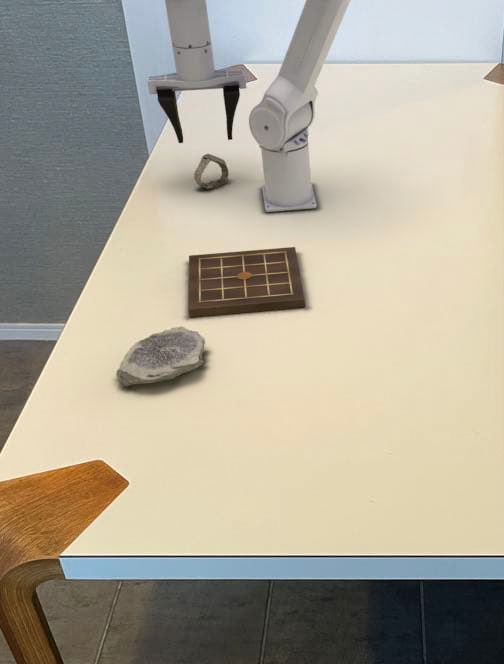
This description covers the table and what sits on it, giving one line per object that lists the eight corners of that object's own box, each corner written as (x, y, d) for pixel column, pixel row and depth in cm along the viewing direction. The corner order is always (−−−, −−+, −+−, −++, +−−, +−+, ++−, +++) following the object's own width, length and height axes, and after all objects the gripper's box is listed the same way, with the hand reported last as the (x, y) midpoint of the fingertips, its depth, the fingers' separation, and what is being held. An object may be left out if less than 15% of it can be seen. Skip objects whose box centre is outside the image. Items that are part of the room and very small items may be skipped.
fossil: (157, 315, 106) (219, 319, 101) (171, 343, 108) (232, 348, 103) (98, 369, 99) (161, 376, 94) (114, 397, 102) (176, 406, 97)
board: (190, 263, 121) (188, 254, 120) (295, 254, 123) (295, 245, 122) (189, 317, 111) (188, 308, 110) (305, 307, 112) (304, 298, 111)
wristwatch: (233, 182, 141) (229, 151, 138) (205, 194, 138) (200, 163, 134) (219, 177, 143) (215, 146, 139) (191, 189, 139) (185, 157, 136)
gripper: (240, 32, 129) (250, 127, 139) (142, 37, 128) (159, 132, 137) (242, 46, 124) (252, 143, 134) (140, 51, 123) (158, 149, 132)
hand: (205, 139), depth 135 cm, fingers open, 7 cm apart
